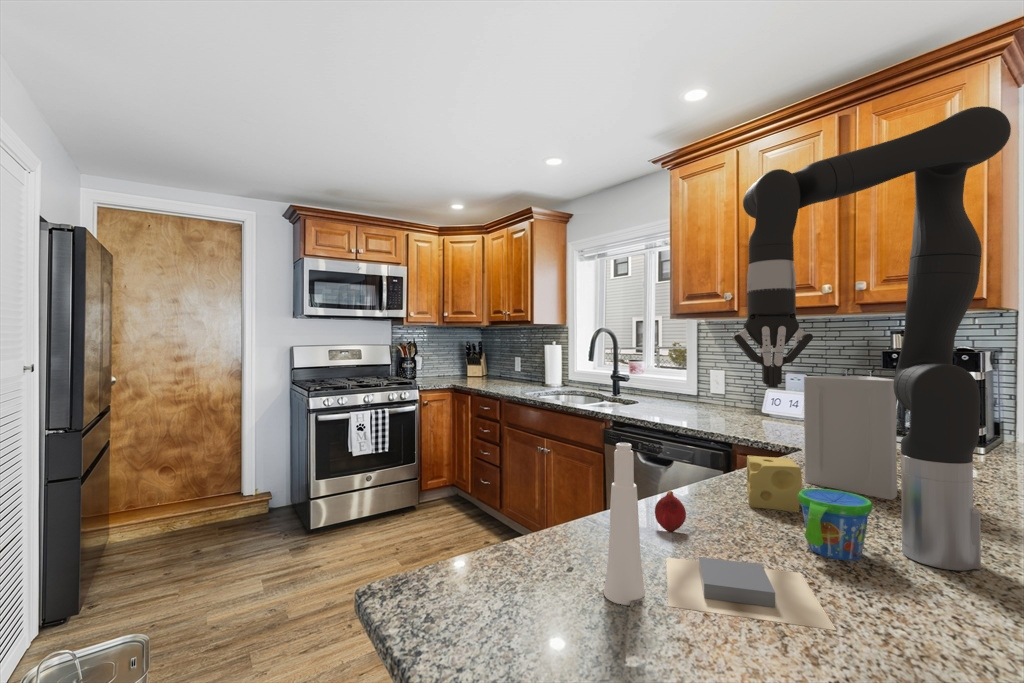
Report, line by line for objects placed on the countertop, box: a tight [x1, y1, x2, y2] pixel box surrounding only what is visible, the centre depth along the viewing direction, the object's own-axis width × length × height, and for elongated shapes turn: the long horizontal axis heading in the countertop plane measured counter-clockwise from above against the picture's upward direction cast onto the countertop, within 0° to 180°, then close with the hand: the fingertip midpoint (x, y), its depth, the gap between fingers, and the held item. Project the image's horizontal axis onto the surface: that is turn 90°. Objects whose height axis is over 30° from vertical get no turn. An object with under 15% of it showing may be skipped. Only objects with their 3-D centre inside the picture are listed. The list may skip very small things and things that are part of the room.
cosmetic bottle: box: [603, 442, 646, 606], centre depth 71 cm, size 6×6×22 cm
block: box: [698, 556, 775, 607], centre depth 71 cm, size 2×9×9 cm
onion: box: [654, 490, 687, 533], centre depth 95 cm, size 6×6×8 cm
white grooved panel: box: [803, 375, 898, 501], centre depth 127 cm, size 19×15×28 cm
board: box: [665, 556, 837, 632], centre depth 71 cm, size 20×16×1 cm
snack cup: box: [798, 488, 874, 562], centre depth 84 cm, size 16×10×10 cm
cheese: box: [746, 455, 803, 513], centre depth 112 cm, size 10×11×10 cm
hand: (771, 387), depth 85 cm, fingers closed
